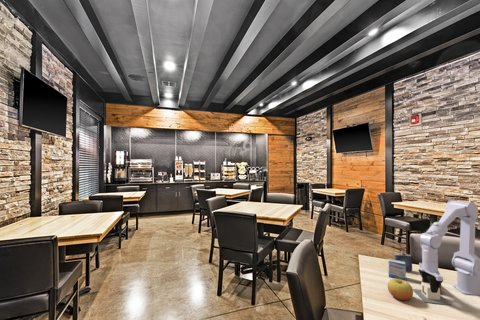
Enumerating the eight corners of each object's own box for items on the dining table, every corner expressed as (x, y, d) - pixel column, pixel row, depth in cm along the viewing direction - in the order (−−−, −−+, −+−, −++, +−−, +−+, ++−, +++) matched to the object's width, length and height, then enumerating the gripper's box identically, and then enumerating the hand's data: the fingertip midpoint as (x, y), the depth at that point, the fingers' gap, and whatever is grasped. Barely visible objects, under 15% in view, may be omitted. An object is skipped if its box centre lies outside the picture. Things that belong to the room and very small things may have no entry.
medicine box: (388, 276, 128) (388, 261, 128) (388, 273, 132) (388, 258, 132) (406, 280, 124) (405, 264, 124) (405, 277, 127) (405, 261, 128)
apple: (412, 306, 101) (411, 287, 101) (386, 298, 107) (385, 280, 108) (414, 296, 108) (413, 279, 109) (389, 289, 115) (389, 273, 115)
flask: (395, 270, 136) (394, 251, 136) (393, 268, 139) (392, 250, 139) (413, 271, 134) (412, 253, 134) (410, 269, 136) (410, 251, 137)
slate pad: (435, 292, 112) (435, 291, 112) (451, 305, 102) (451, 304, 102) (412, 289, 114) (412, 288, 114) (425, 302, 104) (425, 301, 104)
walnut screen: (428, 281, 123) (427, 270, 123) (444, 294, 110) (444, 283, 110) (421, 280, 123) (421, 270, 123) (437, 294, 110) (436, 282, 111)
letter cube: (433, 293, 110) (433, 283, 110) (440, 299, 105) (439, 288, 105) (420, 292, 111) (420, 282, 111) (427, 298, 106) (426, 287, 106)
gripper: (412, 253, 116) (412, 280, 116) (429, 265, 102) (429, 296, 102) (428, 254, 115) (428, 282, 114) (447, 267, 101) (448, 298, 100)
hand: (430, 289), depth 108 cm, fingers closed on letter cube, 5 cm apart
